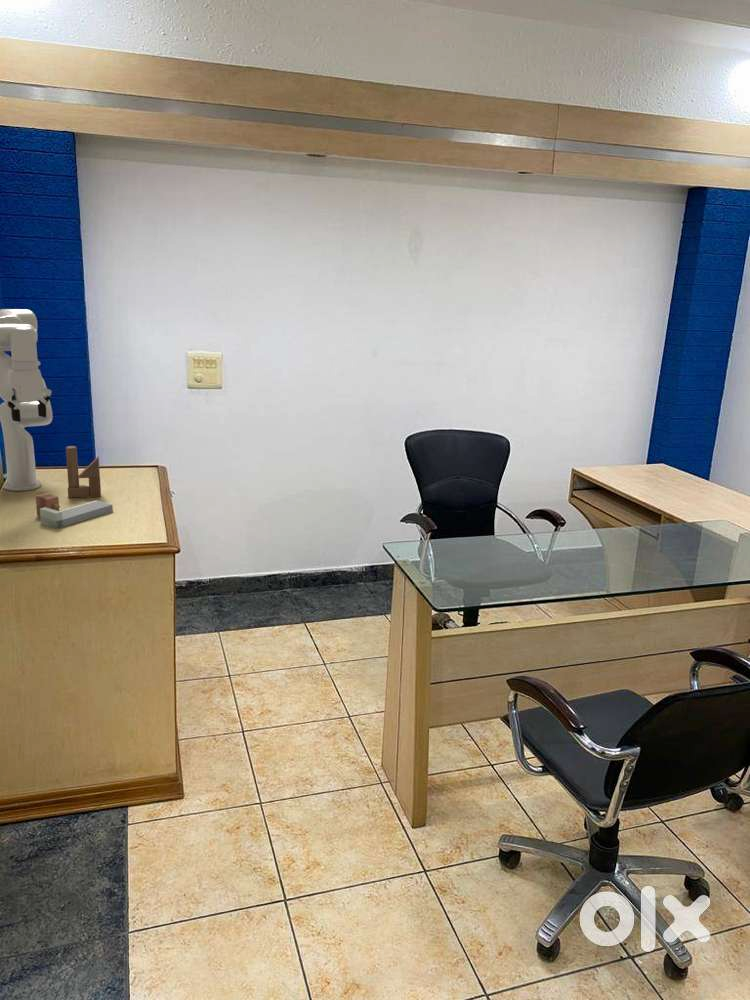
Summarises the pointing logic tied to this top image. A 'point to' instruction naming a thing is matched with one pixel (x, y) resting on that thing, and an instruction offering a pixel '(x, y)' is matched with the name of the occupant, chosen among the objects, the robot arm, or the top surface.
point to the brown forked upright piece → (82, 476)
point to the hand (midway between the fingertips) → (29, 418)
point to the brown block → (47, 502)
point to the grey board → (74, 514)
